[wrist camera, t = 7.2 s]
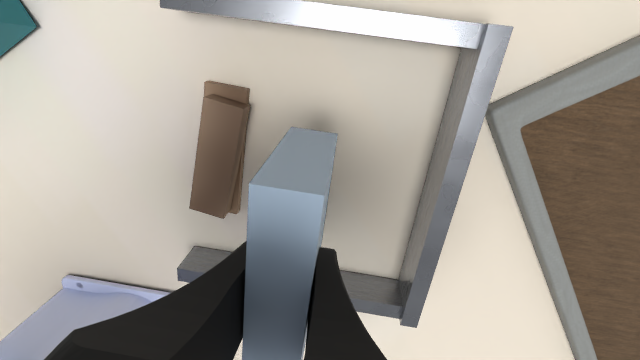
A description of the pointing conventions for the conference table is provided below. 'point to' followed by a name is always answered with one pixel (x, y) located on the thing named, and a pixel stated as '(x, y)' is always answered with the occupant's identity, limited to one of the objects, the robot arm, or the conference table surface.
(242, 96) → the block
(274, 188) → the panel
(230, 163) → the offcut top
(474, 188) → the conference table surface
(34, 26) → the teal l-shaped bracket
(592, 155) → the picture frame
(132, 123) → the conference table surface
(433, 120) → the conference table surface
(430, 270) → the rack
